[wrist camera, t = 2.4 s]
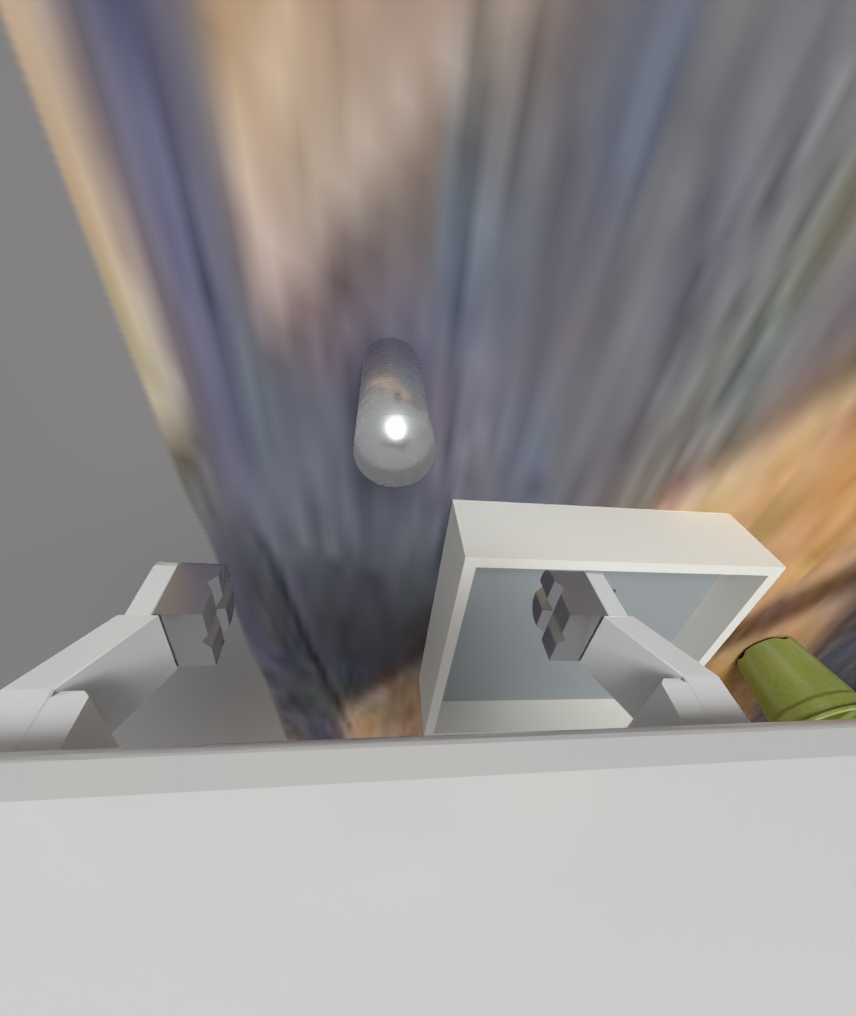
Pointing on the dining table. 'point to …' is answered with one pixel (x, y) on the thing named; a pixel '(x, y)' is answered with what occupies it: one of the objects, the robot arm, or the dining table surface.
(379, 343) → the peg
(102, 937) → the robot arm
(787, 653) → the plant pot
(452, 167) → the dining table surface
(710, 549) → the box
